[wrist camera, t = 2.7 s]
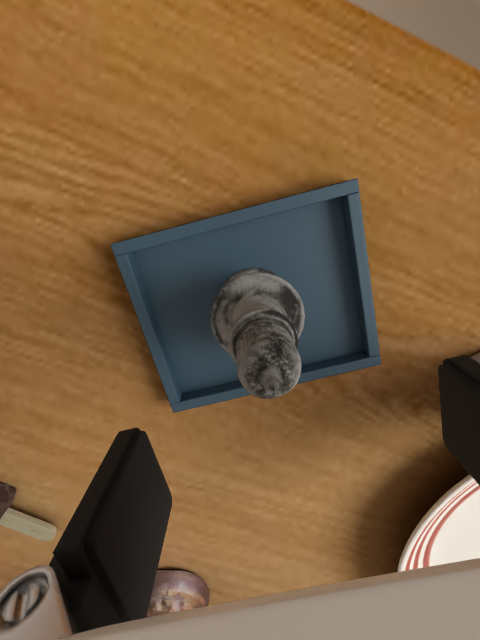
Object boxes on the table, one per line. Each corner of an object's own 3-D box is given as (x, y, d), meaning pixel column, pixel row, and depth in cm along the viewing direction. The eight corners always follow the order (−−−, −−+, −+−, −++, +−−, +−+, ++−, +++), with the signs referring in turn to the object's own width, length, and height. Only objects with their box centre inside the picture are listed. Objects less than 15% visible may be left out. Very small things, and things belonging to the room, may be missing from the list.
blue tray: (118, 242, 23) (110, 244, 21) (349, 180, 22) (358, 178, 20) (176, 401, 27) (173, 413, 25) (372, 355, 26) (381, 364, 24)
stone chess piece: (200, 322, 24) (172, 423, 13) (234, 249, 23) (237, 289, 11) (271, 353, 25) (304, 472, 14) (309, 284, 23) (382, 355, 12)
